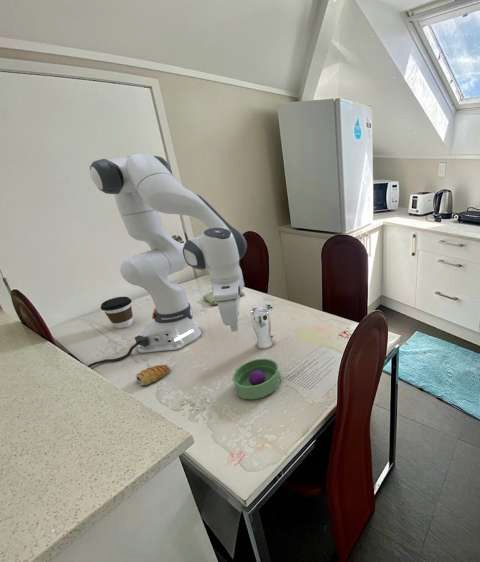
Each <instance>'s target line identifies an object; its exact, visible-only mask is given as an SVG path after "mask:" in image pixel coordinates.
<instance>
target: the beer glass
mask: <svg viewBox="0 0 480 562" xmlns="http://www.w3.org/2000/svg"><path fill="white" fill-rule="evenodd" d="M250 320H251V321H250V322H251V325H252V328H253V329H252V330H253V331H254V334H255V336H256V339H257V344H256V346H257V348H259V349H268V348H270V347H271V346H273V344H274V341H273V338H272V320H271V315H270V312H269V309H268V308H266V307H259V308H255V309H253V310H252V311H250Z"/></svg>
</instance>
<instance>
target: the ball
mask: <svg viewBox="0 0 480 562" xmlns="http://www.w3.org/2000/svg"><path fill="white" fill-rule="evenodd" d="M264 380H265V375H264V373H263V372H262V371H260V370H256V371H253V372H252V373H251V374H250V376H249V382H250V383H251V384H252V385H254V386H255V385H259V384H262V383H263V382H264Z"/></svg>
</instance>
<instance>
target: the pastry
mask: <svg viewBox="0 0 480 562" xmlns="http://www.w3.org/2000/svg"><path fill="white" fill-rule="evenodd" d="M169 372H170V367H169V366H168V365H167V364H160V365H155V366H151V367H146V369H142V370H141V371H140V372H138V373H136V375H135V379H136V380H137V381H138V382H137V383H139V384H140V386H148V385H151V384H153V383H155V382H156V381H159V380H160V379H162V378H164V377H165V376H166V375H167V374H168V373H169Z"/></svg>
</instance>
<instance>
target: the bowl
mask: <svg viewBox="0 0 480 562" xmlns="http://www.w3.org/2000/svg"><path fill="white" fill-rule="evenodd" d="M256 370H260V371H262V372H263V373H264V375H265V380H264V382H263V383H262V384H259V385H255V386H254V385H252V384H251V383H250V382H249V376H250V374H251V373H252V372H253V371H256ZM280 374H281V373H280V369H279V364H278V363H277V362H276V361H275V360H273V359H271V358H256V359H252V360H249V361H247V362H245V363H243V364H241V365H240V366H239V367H238V368H237V369H236V370H235V371H234V373H233V375H232V381H233V382H232V383H233V386H234V391H235V394H236V395H237V396H238V397H240V398H241V399H244V400H258V399H262V398H265V397H266V396H269V395H270V394H272V393H273V392H274V391H276V390H277V388H278V387H279V386H280V382H281V375H280Z"/></svg>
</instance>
